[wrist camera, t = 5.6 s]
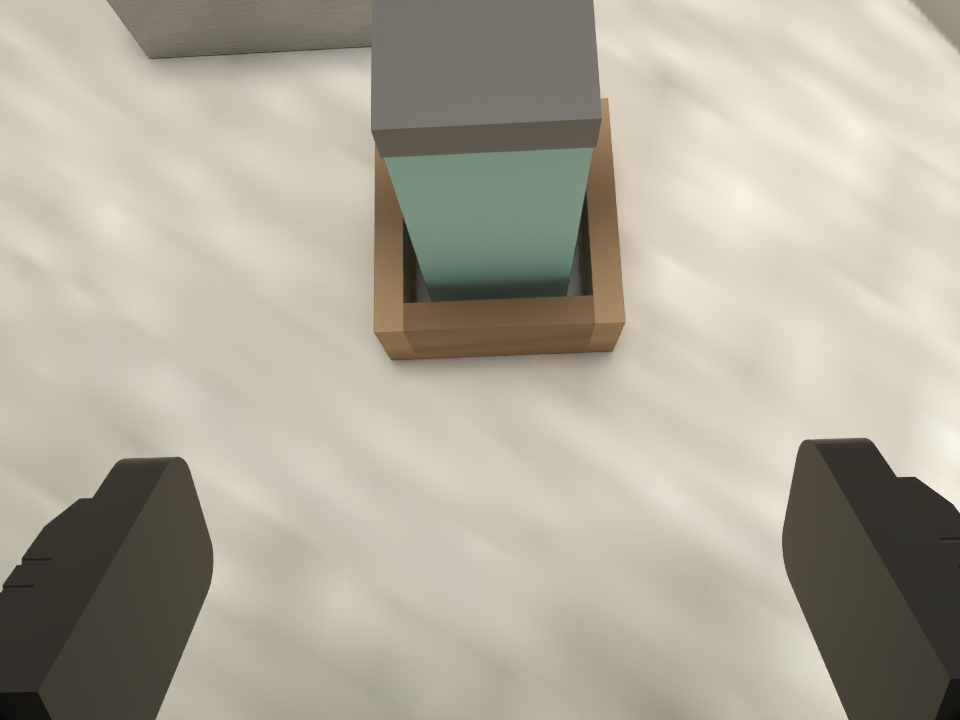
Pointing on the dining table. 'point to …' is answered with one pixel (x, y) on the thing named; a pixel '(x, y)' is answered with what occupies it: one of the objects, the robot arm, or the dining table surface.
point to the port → (244, 25)
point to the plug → (487, 137)
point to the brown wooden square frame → (502, 320)
